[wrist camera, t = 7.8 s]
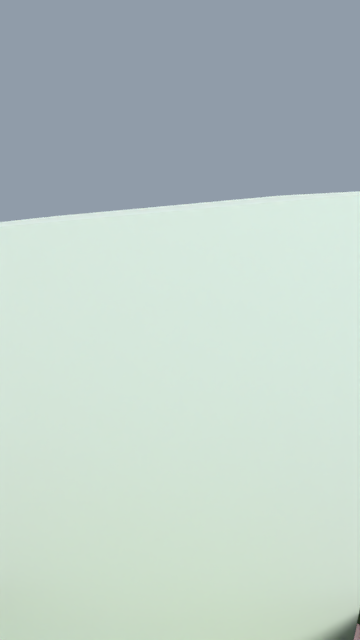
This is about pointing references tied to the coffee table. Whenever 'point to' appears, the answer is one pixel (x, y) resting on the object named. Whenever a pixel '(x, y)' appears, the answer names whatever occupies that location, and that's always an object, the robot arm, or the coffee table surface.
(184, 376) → the carton
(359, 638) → the coffee table surface
